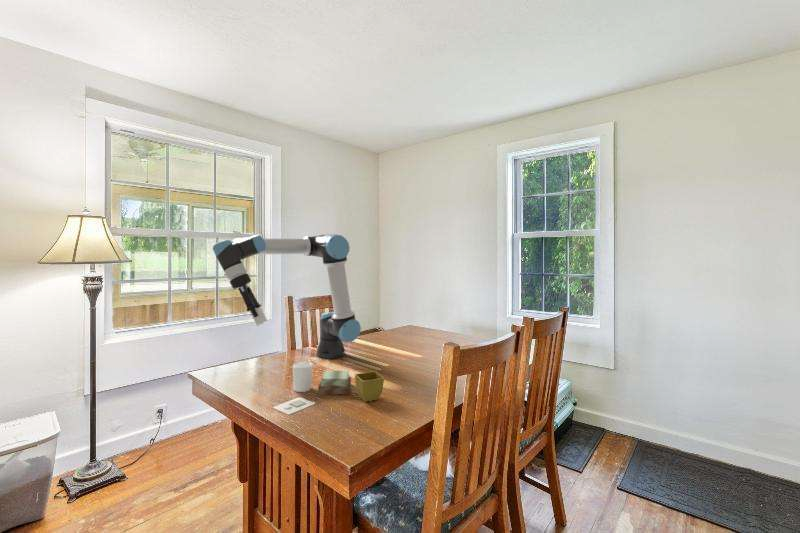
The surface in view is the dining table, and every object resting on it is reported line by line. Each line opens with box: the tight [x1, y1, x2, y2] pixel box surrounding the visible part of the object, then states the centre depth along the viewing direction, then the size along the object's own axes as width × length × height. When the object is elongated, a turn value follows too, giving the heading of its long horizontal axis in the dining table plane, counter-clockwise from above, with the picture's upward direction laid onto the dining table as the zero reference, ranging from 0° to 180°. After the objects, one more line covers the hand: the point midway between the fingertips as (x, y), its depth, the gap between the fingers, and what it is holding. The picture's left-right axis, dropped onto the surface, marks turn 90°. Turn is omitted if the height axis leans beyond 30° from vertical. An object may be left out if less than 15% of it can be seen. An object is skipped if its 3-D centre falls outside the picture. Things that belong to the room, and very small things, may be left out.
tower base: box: [317, 369, 352, 396], centre depth 148 cm, size 12×12×6 cm
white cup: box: [292, 361, 314, 393], centre depth 147 cm, size 8×8×10 cm
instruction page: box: [271, 396, 316, 416], centre depth 131 cm, size 12×9×1 cm
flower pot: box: [354, 370, 385, 403], centre depth 139 cm, size 9×9×9 cm
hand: (262, 323), depth 150 cm, fingers open, 13 cm apart
